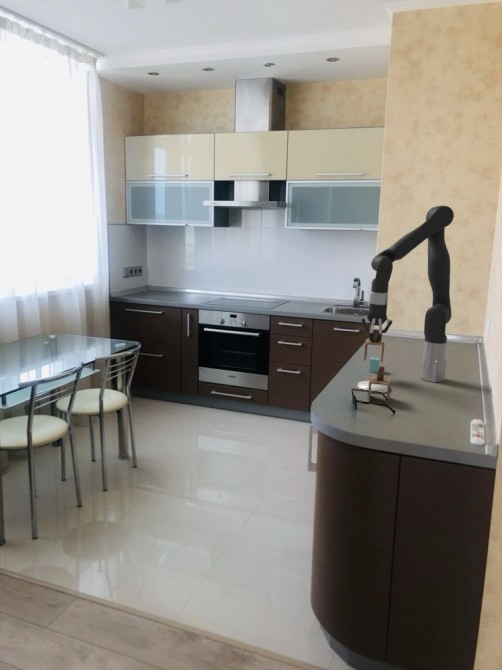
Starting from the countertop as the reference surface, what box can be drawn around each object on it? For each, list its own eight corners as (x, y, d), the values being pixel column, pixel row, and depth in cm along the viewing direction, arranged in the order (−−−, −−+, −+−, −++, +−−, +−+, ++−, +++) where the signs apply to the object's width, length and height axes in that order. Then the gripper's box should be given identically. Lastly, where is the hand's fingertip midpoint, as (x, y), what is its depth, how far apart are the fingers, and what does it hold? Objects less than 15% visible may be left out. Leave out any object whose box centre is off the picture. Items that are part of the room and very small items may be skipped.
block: (378, 370, 257) (379, 357, 256) (378, 372, 254) (379, 360, 252) (369, 369, 258) (370, 357, 257) (369, 371, 255) (370, 359, 253)
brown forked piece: (383, 357, 247) (385, 328, 244) (382, 362, 239) (385, 332, 236) (364, 356, 249) (367, 327, 246) (363, 360, 241) (366, 331, 238)
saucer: (396, 390, 228) (396, 387, 228) (371, 394, 222) (372, 392, 221) (374, 382, 239) (374, 379, 239) (350, 385, 233) (351, 383, 232)
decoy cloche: (388, 397, 219) (391, 365, 216) (388, 404, 212) (391, 370, 209) (368, 395, 221) (370, 363, 218) (367, 401, 213) (370, 368, 211)
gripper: (395, 302, 240) (391, 341, 244) (362, 300, 243) (359, 338, 247) (395, 305, 233) (391, 344, 237) (361, 302, 236) (358, 341, 240)
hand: (375, 341), depth 242 cm, fingers closed on brown forked piece, 2 cm apart
